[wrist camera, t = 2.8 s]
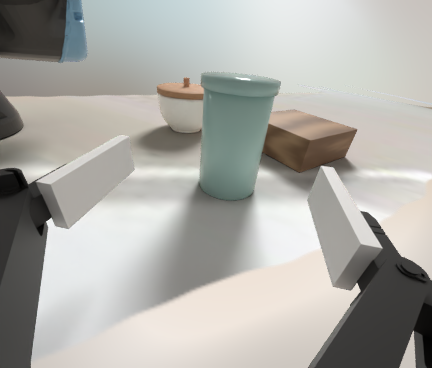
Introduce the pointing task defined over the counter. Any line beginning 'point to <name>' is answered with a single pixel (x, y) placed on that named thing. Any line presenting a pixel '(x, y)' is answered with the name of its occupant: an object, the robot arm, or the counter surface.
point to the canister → (233, 131)
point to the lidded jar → (181, 105)
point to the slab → (305, 139)
